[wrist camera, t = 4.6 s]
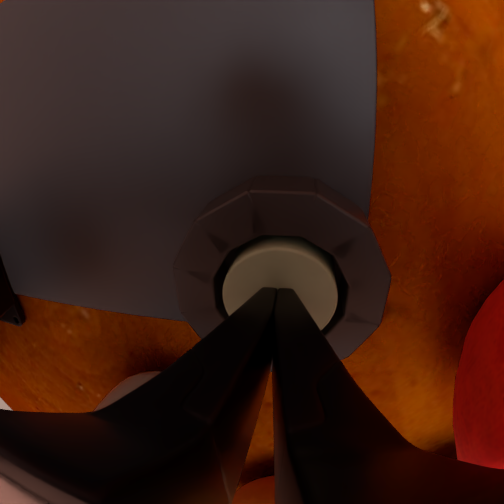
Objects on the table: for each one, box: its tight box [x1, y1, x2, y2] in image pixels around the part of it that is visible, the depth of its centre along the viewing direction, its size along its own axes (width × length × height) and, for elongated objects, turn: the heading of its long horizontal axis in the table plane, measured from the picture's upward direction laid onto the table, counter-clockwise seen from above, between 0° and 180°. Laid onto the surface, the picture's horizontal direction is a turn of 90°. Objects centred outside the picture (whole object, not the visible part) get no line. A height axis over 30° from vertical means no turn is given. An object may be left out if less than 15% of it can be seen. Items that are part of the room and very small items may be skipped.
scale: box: [0, 0, 391, 372], centre depth 9 cm, size 16×14×3 cm
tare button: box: [223, 235, 338, 330], centre depth 10 cm, size 3×3×2 cm
